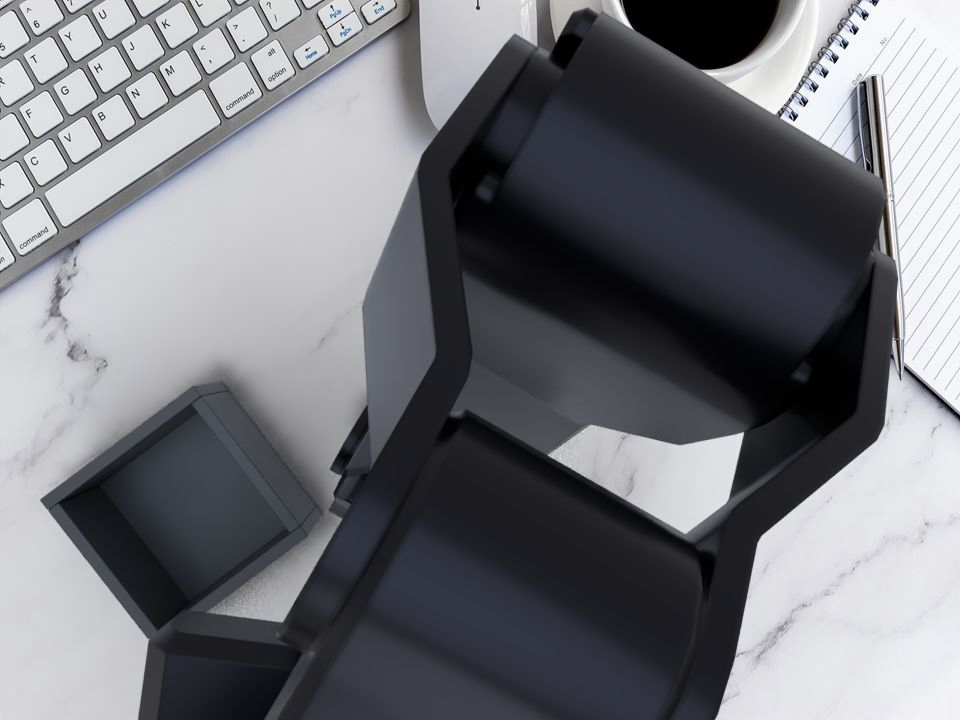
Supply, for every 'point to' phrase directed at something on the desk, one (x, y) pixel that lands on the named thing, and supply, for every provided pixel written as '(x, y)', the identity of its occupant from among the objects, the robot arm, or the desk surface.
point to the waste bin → (184, 508)
